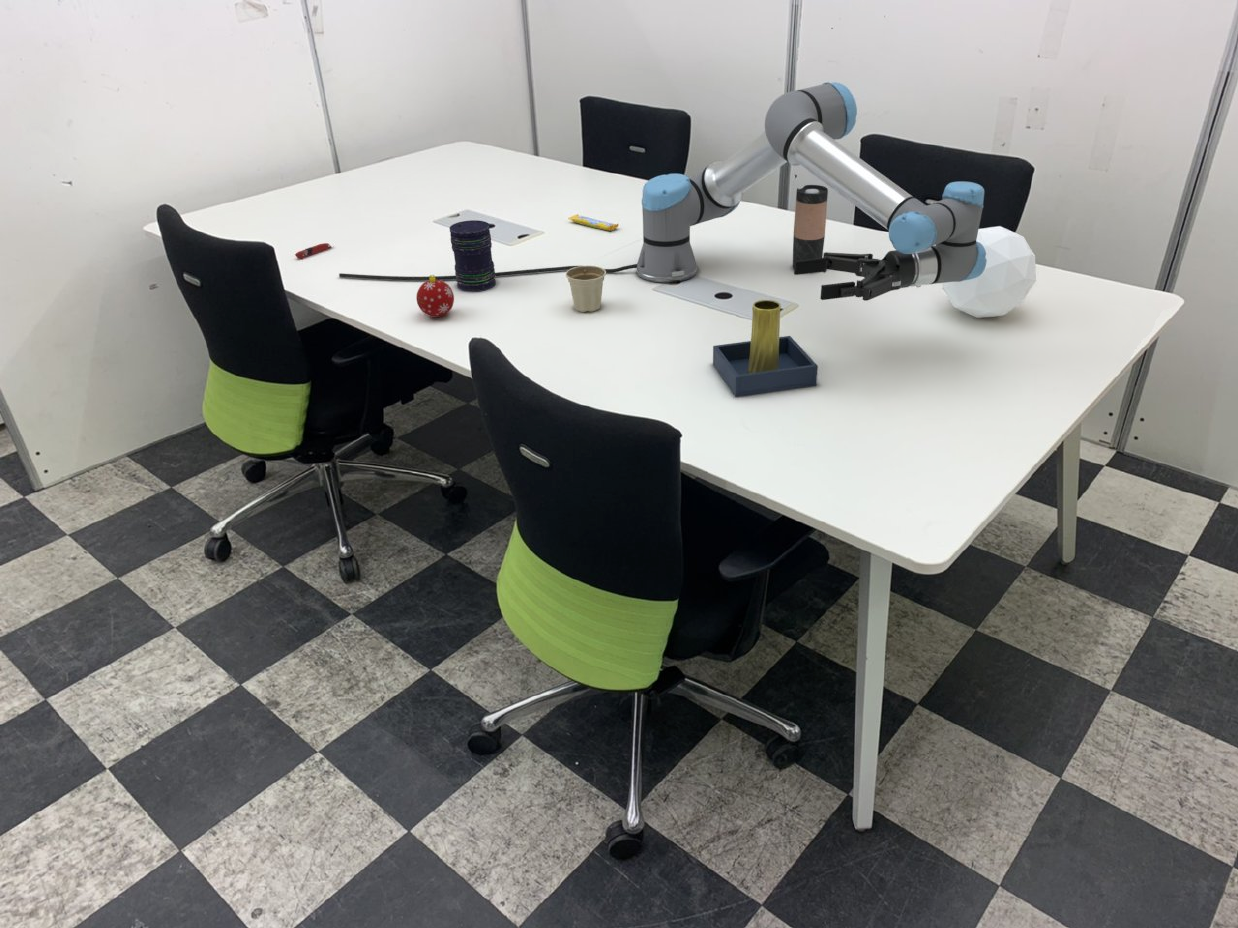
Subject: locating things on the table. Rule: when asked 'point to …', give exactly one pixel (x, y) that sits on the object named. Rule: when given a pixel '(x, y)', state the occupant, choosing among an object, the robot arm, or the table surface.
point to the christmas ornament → (435, 297)
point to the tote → (790, 375)
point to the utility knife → (312, 250)
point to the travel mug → (809, 222)
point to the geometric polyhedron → (996, 276)
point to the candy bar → (593, 223)
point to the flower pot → (586, 287)
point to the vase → (764, 336)
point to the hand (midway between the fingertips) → (807, 280)
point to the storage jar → (472, 255)
